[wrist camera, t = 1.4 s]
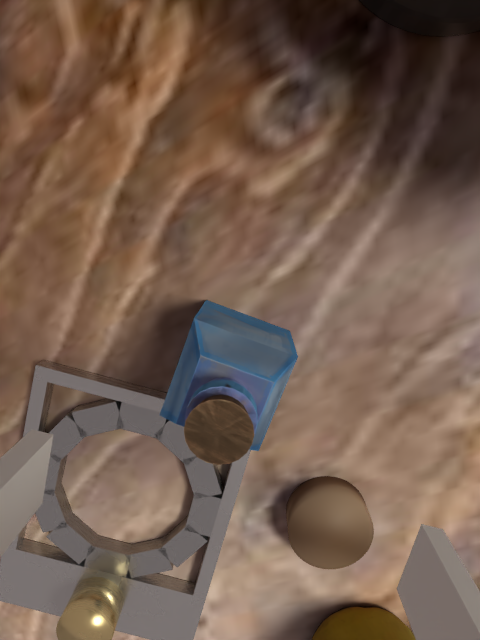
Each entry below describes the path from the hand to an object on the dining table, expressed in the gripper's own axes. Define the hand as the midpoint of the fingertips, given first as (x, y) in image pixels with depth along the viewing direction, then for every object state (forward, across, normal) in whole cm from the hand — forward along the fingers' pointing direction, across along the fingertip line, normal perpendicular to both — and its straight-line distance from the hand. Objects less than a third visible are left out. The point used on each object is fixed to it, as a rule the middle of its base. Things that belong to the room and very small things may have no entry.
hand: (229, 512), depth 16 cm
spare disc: (+17, +9, -10) cm, 21 cm away
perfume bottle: (+17, -1, 0) cm, 17 cm away
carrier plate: (+16, -6, -14) cm, 22 cm away
